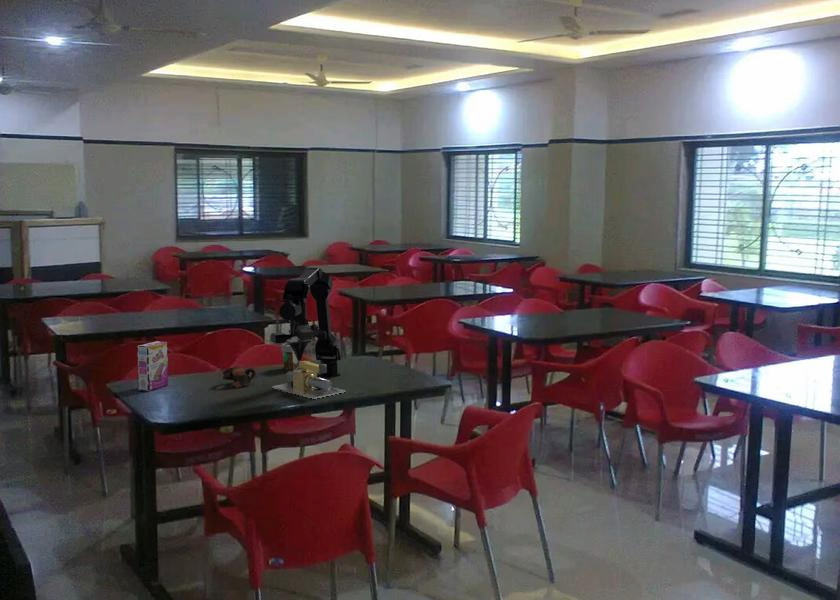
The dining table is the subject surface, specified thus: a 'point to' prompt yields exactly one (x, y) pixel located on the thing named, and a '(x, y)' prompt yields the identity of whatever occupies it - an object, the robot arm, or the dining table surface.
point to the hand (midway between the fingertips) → (299, 360)
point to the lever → (313, 366)
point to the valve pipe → (307, 385)
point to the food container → (289, 358)
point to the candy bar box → (152, 365)
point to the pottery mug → (239, 375)
